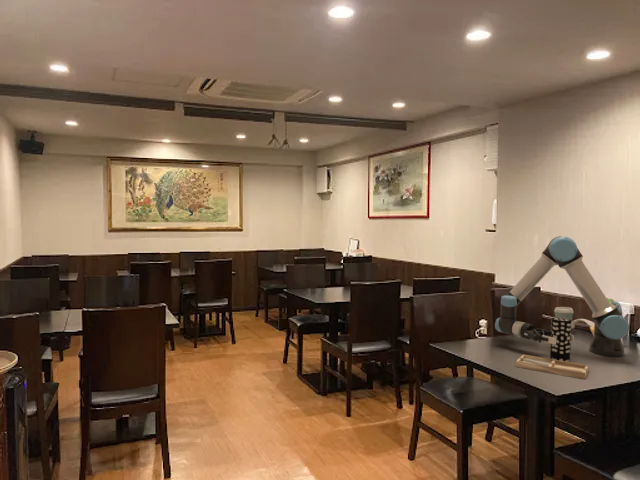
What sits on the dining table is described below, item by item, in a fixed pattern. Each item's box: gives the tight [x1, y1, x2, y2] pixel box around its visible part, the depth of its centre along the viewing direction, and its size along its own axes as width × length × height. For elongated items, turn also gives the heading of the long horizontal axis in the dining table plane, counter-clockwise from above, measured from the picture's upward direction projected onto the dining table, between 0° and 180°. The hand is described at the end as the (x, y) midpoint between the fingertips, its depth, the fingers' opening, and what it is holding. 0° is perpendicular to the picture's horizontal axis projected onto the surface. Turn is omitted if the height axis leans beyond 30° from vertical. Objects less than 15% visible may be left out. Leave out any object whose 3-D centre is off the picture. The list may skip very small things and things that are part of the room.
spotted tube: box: [549, 317, 573, 362], centre depth 221 cm, size 8×8×20 cm
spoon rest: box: [571, 318, 595, 330], centre depth 288 cm, size 24×12×7 cm, turn 38°
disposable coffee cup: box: [553, 306, 575, 321], centre depth 283 cm, size 11×11×15 cm
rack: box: [515, 354, 590, 380], centre depth 210 cm, size 14×27×2 cm, turn 55°
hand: (564, 339), depth 219 cm, fingers open, 13 cm apart
